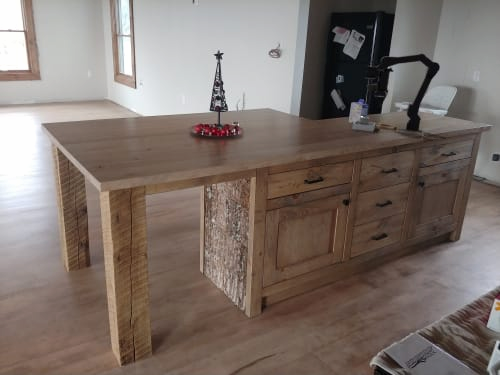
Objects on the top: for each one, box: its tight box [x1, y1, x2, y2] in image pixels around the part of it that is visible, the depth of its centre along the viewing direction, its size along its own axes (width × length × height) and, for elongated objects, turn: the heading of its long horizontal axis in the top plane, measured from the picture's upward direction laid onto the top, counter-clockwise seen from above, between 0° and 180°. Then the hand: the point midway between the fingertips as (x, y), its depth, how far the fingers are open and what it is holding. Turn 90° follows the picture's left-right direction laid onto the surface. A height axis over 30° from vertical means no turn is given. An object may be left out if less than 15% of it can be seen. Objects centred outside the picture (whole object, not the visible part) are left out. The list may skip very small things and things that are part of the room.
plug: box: [360, 115, 371, 125], centre depth 253 cm, size 5×5×7 cm
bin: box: [351, 121, 377, 134], centre depth 253 cm, size 11×11×4 cm
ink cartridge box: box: [348, 98, 369, 124], centre depth 270 cm, size 10×6×14 cm, turn 29°
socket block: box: [375, 122, 396, 131], centre depth 260 cm, size 10×10×2 cm
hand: (379, 107), depth 259 cm, fingers open, 9 cm apart
